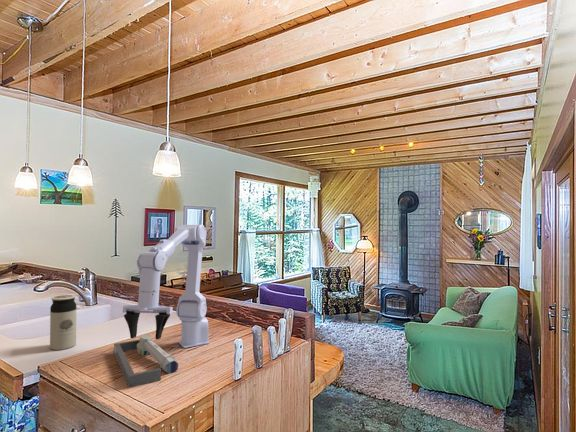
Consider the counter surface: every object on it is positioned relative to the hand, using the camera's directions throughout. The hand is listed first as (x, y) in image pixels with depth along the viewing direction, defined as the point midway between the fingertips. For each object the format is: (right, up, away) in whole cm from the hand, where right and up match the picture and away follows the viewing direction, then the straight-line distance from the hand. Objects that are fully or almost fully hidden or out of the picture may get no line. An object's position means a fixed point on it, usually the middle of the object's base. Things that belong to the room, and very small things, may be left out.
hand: (145, 338), depth 106 cm
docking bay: (-6, -11, +7) cm, 14 cm away
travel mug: (-39, -11, +23) cm, 47 cm away
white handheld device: (-1, -11, +10) cm, 15 cm away
